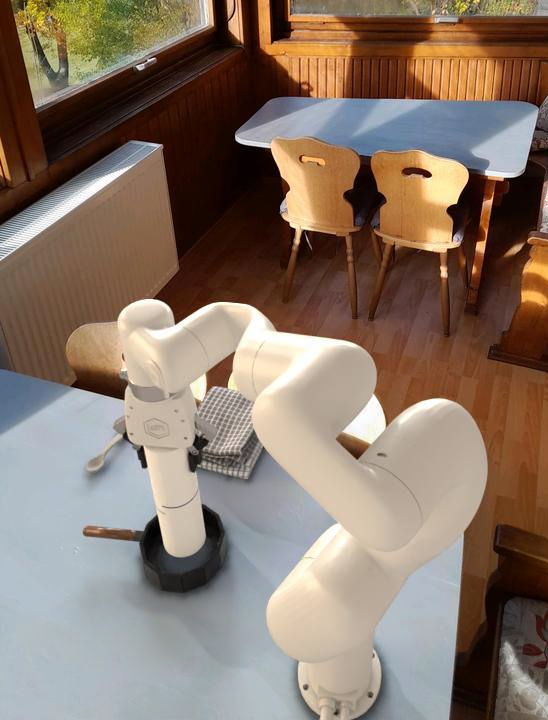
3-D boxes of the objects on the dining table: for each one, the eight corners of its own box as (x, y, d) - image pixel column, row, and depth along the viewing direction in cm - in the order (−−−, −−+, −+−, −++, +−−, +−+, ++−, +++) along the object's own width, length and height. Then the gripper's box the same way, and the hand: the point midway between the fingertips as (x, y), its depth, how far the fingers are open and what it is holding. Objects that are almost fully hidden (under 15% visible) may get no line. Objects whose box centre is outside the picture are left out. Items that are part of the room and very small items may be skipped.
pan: (214, 596, 111) (212, 580, 109) (69, 580, 113) (64, 564, 111) (233, 522, 123) (231, 506, 121) (102, 509, 125) (98, 493, 123)
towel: (278, 418, 145) (277, 391, 141) (246, 484, 130) (244, 457, 126) (215, 403, 149) (212, 377, 145) (176, 466, 134) (172, 439, 130)
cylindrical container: (196, 560, 111) (179, 456, 98) (156, 553, 112) (134, 449, 100) (211, 524, 117) (196, 421, 104) (173, 517, 118) (154, 415, 106)
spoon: (83, 473, 132) (82, 465, 131) (120, 433, 142) (119, 426, 141) (95, 477, 131) (94, 470, 130) (132, 437, 141) (131, 430, 140)
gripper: (87, 393, 94) (109, 478, 103) (208, 401, 92) (219, 487, 101) (108, 358, 100) (127, 441, 109) (221, 365, 99) (230, 449, 108)
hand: (171, 463), depth 105 cm, fingers closed on cylindrical container, 7 cm apart
